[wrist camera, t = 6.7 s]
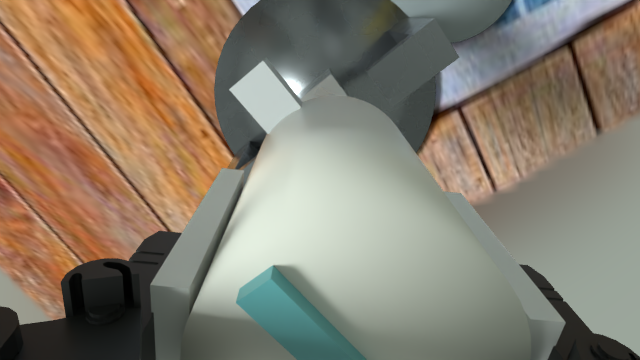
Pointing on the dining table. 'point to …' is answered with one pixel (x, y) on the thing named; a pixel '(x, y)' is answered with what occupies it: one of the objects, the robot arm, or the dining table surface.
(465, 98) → the dining table surface
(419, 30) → the grey hook stand
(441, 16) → the coaster
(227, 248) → the white teal-striped cylinder
